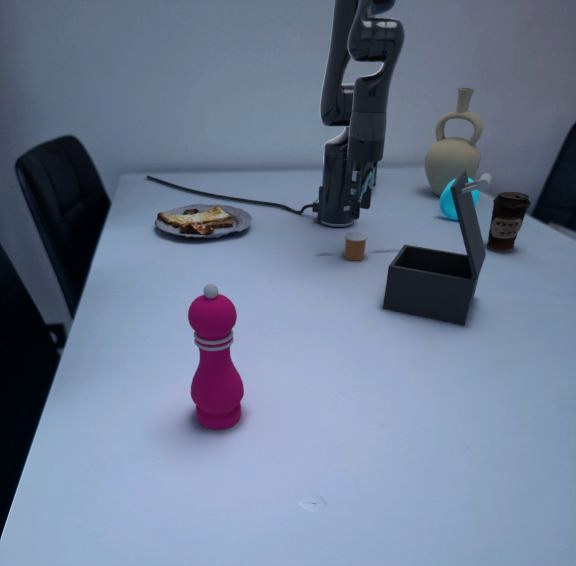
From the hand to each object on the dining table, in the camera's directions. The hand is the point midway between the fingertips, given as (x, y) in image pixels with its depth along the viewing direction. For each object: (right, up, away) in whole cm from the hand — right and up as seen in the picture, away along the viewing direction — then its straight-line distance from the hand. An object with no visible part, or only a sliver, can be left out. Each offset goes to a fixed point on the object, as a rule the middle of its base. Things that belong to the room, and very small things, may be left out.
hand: (359, 213), depth 119 cm
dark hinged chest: (+12, -22, -13) cm, 29 cm away
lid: (+16, -10, -24) cm, 31 cm away
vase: (+35, +22, +52) cm, 66 cm away
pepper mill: (-26, -43, -44) cm, 67 cm away
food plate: (-38, +3, +21) cm, 44 cm away
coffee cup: (+37, -5, +13) cm, 39 cm away
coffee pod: (0, -8, +6) cm, 10 cm away
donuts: (+32, +10, +33) cm, 47 cm away
